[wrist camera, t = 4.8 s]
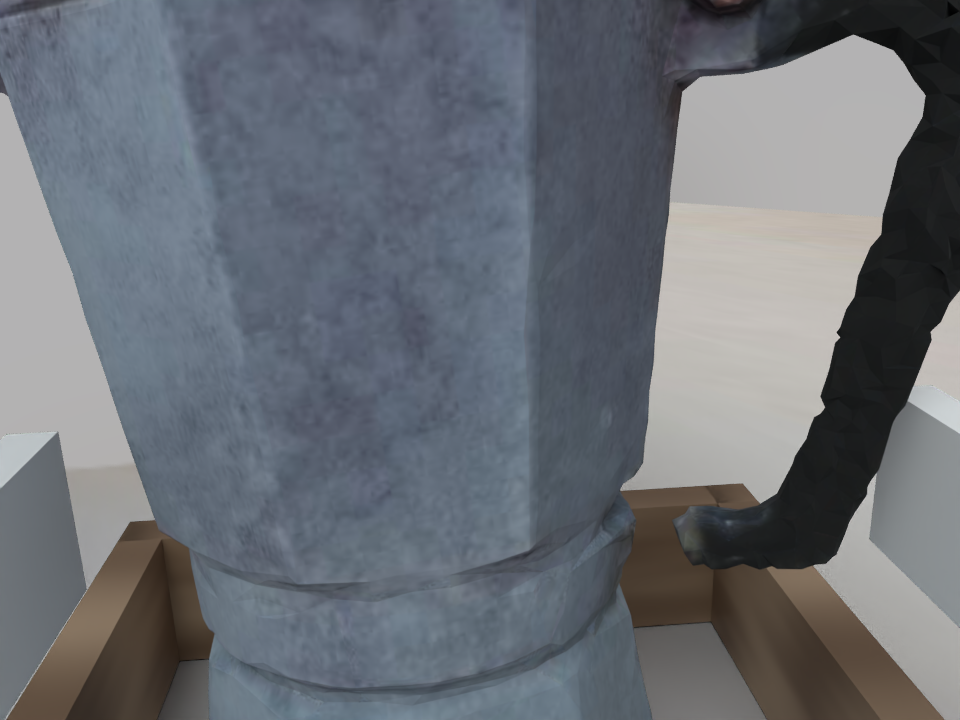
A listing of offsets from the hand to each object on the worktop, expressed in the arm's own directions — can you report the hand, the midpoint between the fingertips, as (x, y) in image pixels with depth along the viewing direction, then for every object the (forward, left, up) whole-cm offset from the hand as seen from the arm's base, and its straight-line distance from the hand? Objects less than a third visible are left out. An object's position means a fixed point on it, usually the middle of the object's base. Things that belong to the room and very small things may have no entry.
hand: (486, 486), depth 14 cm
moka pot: (-1, 0, -10) cm, 10 cm away
